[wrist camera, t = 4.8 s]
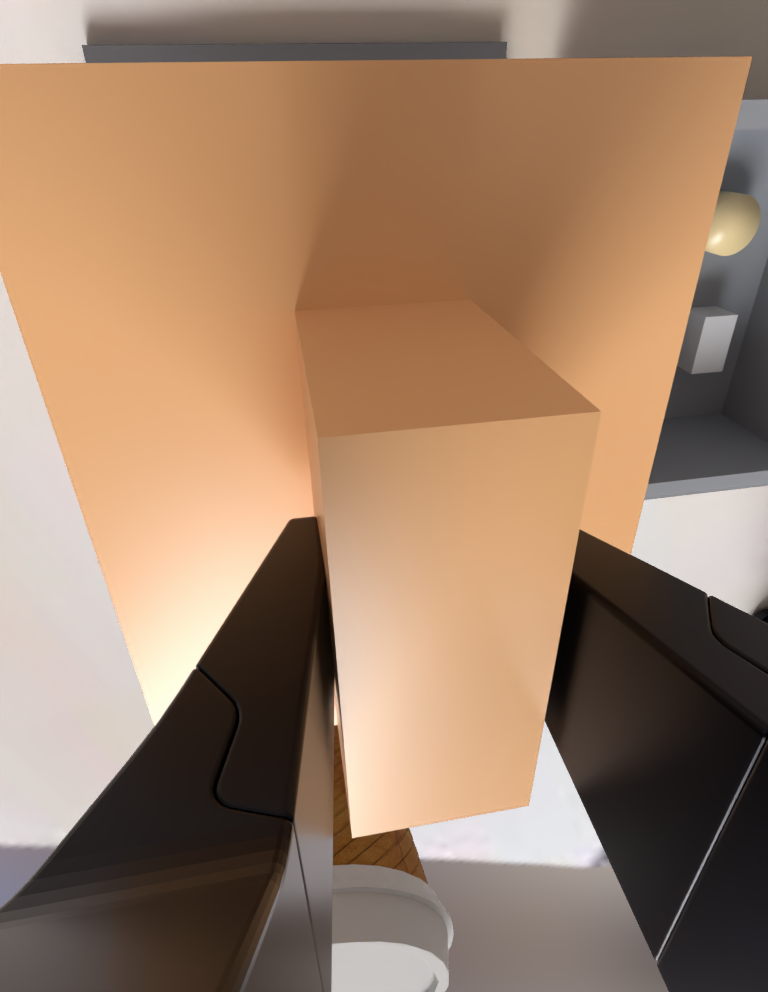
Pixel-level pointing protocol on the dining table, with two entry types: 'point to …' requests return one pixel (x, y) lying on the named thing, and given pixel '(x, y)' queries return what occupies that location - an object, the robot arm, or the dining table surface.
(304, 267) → the lid
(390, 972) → the disposable coffee cup
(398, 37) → the dining table surface
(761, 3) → the dining table surface
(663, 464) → the tub
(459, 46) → the mat
